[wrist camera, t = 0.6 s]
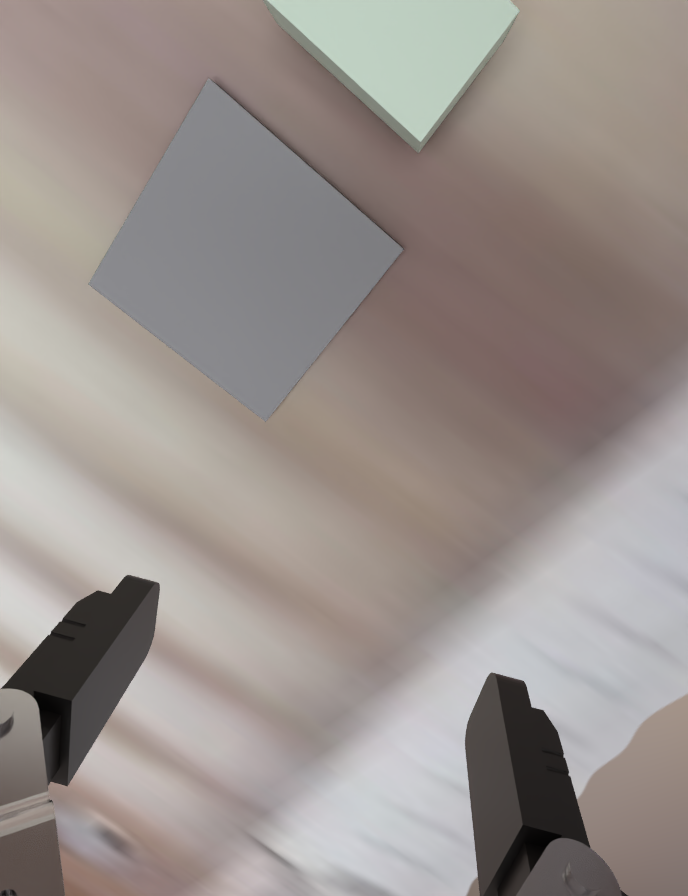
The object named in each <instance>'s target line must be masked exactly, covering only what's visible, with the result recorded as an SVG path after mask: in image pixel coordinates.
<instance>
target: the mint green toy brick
mask: <svg viewBox="0 0 688 896" xmlns="http://www.w3.org/2000/svg"><path fill="white" fill-rule="evenodd" d="M263 1H264V3H265V5H266V6H267V8H268V9H269V11H270V13H271V14H272V16H273V18H274V19H275V21H276V22H277V24H278V25H279V26H280V27H281V28H282V29H283V30H285V31H286V32H287V33H288V34H289V35H290V36H291V37H292V38H293V39H294V40H295V41H297V42H298V43H299V44H300V45H301V46H302V47H303V48H304V49H305V50H306V51H307V52H309V53H310V54H311V55H312V56H313V57H314V58H315V59H316V60H317V61H318V62H319V63H321V64H322V65H323V66H324V67H325V68H326V69H327V70H328V71H329V72H330V73H331V74H332V75H334V76H335V77H336V78H337V79H338V80H339V81H340V82H341V83H342V84H343V85H344V86H346V87H347V88H348V89H349V90H350V91H351V92H352V93H353V94H354V95H355V96H356V97H358V98H359V99H360V100H361V101H362V102H363V103H364V104H365V105H366V106H367V107H368V108H370V109H371V110H372V111H373V112H374V113H375V114H376V115H377V116H378V117H379V118H380V119H381V120H383V121H384V122H385V123H386V124H387V125H388V126H389V127H390V128H391V129H392V130H393V131H395V132H396V133H397V134H398V135H399V136H400V137H401V138H402V139H403V140H404V141H405V142H407V143H408V144H409V145H410V146H411V147H412V148H413V149H414V150H415V151H416V152H417V153H419V152H420V151H421V149H422V148H423V147H424V145H425V144H426V143H427V141H428V140H429V139H430V137H431V136H432V135H433V133H434V132H435V131H436V130H437V128H438V127H439V126H440V124H441V123H442V122H443V120H444V119H445V118H446V116H447V115H448V114H449V112H450V111H451V110H452V108H453V107H454V106H455V104H456V103H457V102H458V100H459V99H460V98H461V97H462V95H463V94H464V93H465V91H466V90H467V89H468V87H469V86H470V85H471V83H472V82H473V81H474V79H475V78H476V77H477V75H478V74H479V73H480V71H481V70H482V69H483V68H484V66H485V65H486V64H487V62H488V61H489V60H490V58H491V57H492V56H493V54H494V53H495V52H496V50H497V49H498V48H499V46H500V45H501V44H502V42H503V41H504V39H505V37H506V36H507V34H508V32H509V30H510V28H511V26H512V24H513V23H514V21H515V19H516V17H517V15H518V13H519V11H520V10H519V9H518V8H517V7H516V6H515V5H514V4H513V3H512V2H511V1H510V0H263Z"/></svg>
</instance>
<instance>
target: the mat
mask: <svg viewBox="0 0 688 896" xmlns="http://www.w3.org/2000/svg"><path fill="white" fill-rule="evenodd" d="M403 250H404V248H402V247H401V246H400V245H399V244H398V243H397V242H396V241H394V240H393V239H392V238H391V237H390V236H389V235H388V234H386V233H385V232H384V231H383V230H382V229H381V228H380V227H378V226H377V225H376V224H375V223H374V222H373V221H372V220H371V219H369V218H368V217H367V216H366V215H365V214H364V213H363V212H361V211H360V210H359V209H358V208H357V207H356V206H355V205H353V204H352V203H351V202H350V201H349V200H348V199H347V198H345V197H344V196H343V195H342V194H341V193H340V192H339V191H338V190H336V189H335V188H334V187H333V186H332V185H331V184H330V183H328V182H327V181H326V180H325V179H324V178H323V177H322V176H320V175H319V174H318V173H317V172H316V171H315V170H314V169H312V168H311V167H310V166H309V165H308V164H307V163H306V162H305V161H303V160H302V159H301V158H300V157H299V156H298V155H297V154H295V153H294V152H293V151H292V150H291V149H290V148H289V147H287V146H286V145H285V144H284V143H283V142H282V141H281V140H279V139H278V138H277V137H276V136H275V135H274V134H273V133H271V132H270V131H269V130H268V129H267V128H266V127H265V126H264V125H262V124H261V123H260V122H259V121H258V120H257V119H256V118H254V117H253V116H252V115H251V114H250V113H249V112H248V111H246V110H245V109H244V108H243V107H242V106H241V105H240V104H238V103H237V102H236V101H235V100H234V99H233V98H232V97H231V96H229V95H228V94H227V93H226V92H225V91H224V90H223V89H221V88H220V87H219V86H218V85H217V84H216V83H214V82H213V81H212V80H211V79H208V80H207V82H206V84H205V85H204V87H203V89H202V91H201V92H200V94H199V96H198V97H197V99H196V101H195V103H194V104H193V106H192V108H191V109H190V111H189V113H188V114H187V116H186V118H185V120H184V121H183V123H182V125H181V126H180V128H179V130H178V132H177V133H176V135H175V137H174V138H173V140H172V142H171V144H170V145H169V147H168V149H167V150H166V152H165V154H164V156H163V157H162V159H161V161H160V162H159V164H158V166H157V168H156V169H155V171H154V173H153V174H152V176H151V178H150V180H149V181H148V183H147V185H146V186H145V188H144V190H143V191H142V193H141V195H140V197H139V198H138V200H137V202H136V203H135V205H134V207H133V209H132V210H131V212H130V214H129V215H128V217H127V219H126V221H125V222H124V224H123V226H122V227H121V229H120V231H119V233H118V234H117V236H116V238H115V239H114V241H113V243H112V245H111V246H110V248H109V250H108V251H107V253H106V255H105V257H104V258H103V260H102V262H101V263H100V265H99V267H98V269H97V270H96V272H95V274H94V275H93V277H92V279H91V280H90V282H89V285H90V286H91V287H92V288H94V289H95V290H96V291H98V292H99V293H100V294H101V295H103V296H104V297H105V298H107V299H108V300H109V301H110V302H112V303H113V304H114V305H116V306H117V307H118V308H119V309H121V310H122V311H123V312H125V313H126V314H127V315H129V316H130V317H131V318H132V319H134V320H135V321H136V322H138V323H139V324H140V325H141V326H143V327H144V328H145V329H147V330H148V331H149V332H150V333H152V334H153V335H154V336H156V337H157V338H158V339H159V340H161V341H162V342H163V343H165V344H166V345H167V346H169V347H170V348H171V349H172V350H174V351H175V352H176V353H178V354H179V355H180V356H181V357H183V358H184V359H185V360H187V361H188V362H189V363H190V364H192V365H193V366H194V367H196V368H197V369H198V370H199V371H201V372H202V373H203V374H205V375H206V376H207V377H208V378H210V379H211V380H212V381H214V382H215V383H216V384H218V385H219V386H220V387H221V388H223V389H224V390H225V391H227V392H228V393H229V394H230V395H232V396H233V397H234V398H236V399H237V400H238V401H239V402H241V403H242V404H243V405H245V406H246V407H247V408H248V409H250V410H251V411H252V412H254V413H255V414H256V415H257V416H259V417H260V418H261V419H263V420H264V421H265V422H266V421H267V419H268V418H269V417H270V416H271V414H272V413H273V412H274V411H275V409H276V408H277V407H278V406H279V404H280V403H281V402H282V401H283V399H284V398H285V397H286V396H287V394H288V393H289V392H290V391H291V389H292V388H293V387H294V386H295V384H296V383H297V382H298V381H299V380H300V378H301V377H302V376H303V375H304V373H305V372H306V371H307V370H308V368H309V367H310V366H311V365H312V363H313V362H314V361H315V360H316V358H317V357H318V356H319V355H320V353H321V352H322V351H323V350H324V348H325V347H326V346H327V345H328V343H329V342H330V341H331V340H332V338H333V337H334V336H335V335H336V333H337V332H338V331H339V330H340V328H341V327H342V326H343V325H344V323H345V322H346V321H347V320H348V318H349V317H350V316H351V315H352V313H353V312H354V311H355V310H356V308H357V307H358V306H359V305H360V303H361V302H362V301H363V300H364V298H365V297H366V296H367V295H368V293H369V292H370V291H371V290H372V288H373V287H374V286H375V285H376V283H377V282H378V281H379V280H380V278H381V277H382V276H383V275H384V273H385V272H386V271H387V270H388V268H389V267H390V266H391V265H392V263H393V262H394V261H395V260H396V258H397V257H398V256H399V255H400V253H401V252H402V251H403Z"/></svg>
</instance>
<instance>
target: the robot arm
mask: <svg viewBox="0 0 688 896" xmlns="http://www.w3.org/2000/svg"><path fill="white" fill-rule="evenodd" d="M159 591H160V585H159V583H157V582H154V581H150V580H146V579H142V578H139V577H135V576H131V575H127V576H126V577H124V579H123V580H122V581H121V582H120V583H119V585H118V586H117V587H116V588H115V590H114V591H113V592H112V593H111V594H109V593H106V592H102V591H96V592H94V593H93V594H91V595H89V596H87V597H85V598H84V599H82V600H80V601H78V602H77V603H76V604H75V605H74V606H73V607H72V609H71V610H70V611H69V612H68V613H67V614H66V615H65V617H64V618H63V620H62V622H59V623H58V625H57V626H56V627H55V628H54V629H53V630H52V631H51V634H50V635H48V636H47V637H46V638H45V639H44V641H43V642H42V643H41V644H40V645H39V646H38V647H37V649H36V650H35V651H34V652H33V653H32V654H31V655H30V657H29V658H28V659H27V660H26V661H25V662H24V663H23V665H22V666H21V667H20V668H19V669H18V670H17V671H16V673H15V674H14V675H13V676H12V677H11V678H10V679H9V681H8V682H7V683H6V684H5V685H4V686H3V687H2V688H1V689H0V896H65V892H64V884H63V875H62V867H61V859H60V851H59V843H58V835H57V827H56V819H55V811H54V806H53V802H52V800H50V798H49V791H48V785H49V784H50V782H54V783H58V784H62V785H65V786H68V785H69V783H70V781H71V780H72V778H73V776H74V775H75V773H76V771H77V770H78V768H79V766H80V765H81V763H82V762H83V760H84V758H85V757H86V755H87V753H88V752H89V750H90V748H91V747H92V745H93V743H94V742H95V740H96V739H97V737H98V735H99V734H100V732H101V730H102V729H103V727H104V725H105V724H106V722H107V720H108V719H109V717H110V716H111V714H112V712H113V711H114V709H115V707H116V706H117V704H118V702H119V701H120V699H121V697H122V696H123V694H124V693H125V691H126V689H127V688H128V686H129V684H130V683H131V681H132V679H133V678H134V676H135V674H136V673H137V671H138V670H139V668H140V666H141V665H142V663H143V661H144V660H145V658H146V656H147V654H148V651H149V649H150V646H151V643H152V640H153V637H154V631H155V624H156V615H157V607H158V599H159ZM465 749H466V759H467V770H468V780H469V790H470V800H471V810H472V820H473V830H474V840H475V850H476V861H477V871H478V880H479V891H480V896H627V895H626V894H625V893H624V892H622V891H621V890H620V887H619V884H618V882H617V880H616V878H615V876H614V874H613V872H612V871H611V869H610V868H609V866H608V865H607V864H606V863H605V861H604V860H603V859H602V858H601V857H600V856H599V855H598V854H597V853H596V852H594V851H593V850H592V849H591V848H590V845H589V842H588V838H587V835H586V831H585V828H584V824H583V820H582V817H581V813H580V810H579V806H578V803H577V799H576V795H575V792H574V788H573V785H572V781H571V778H570V776H568V773H569V771H568V767H567V763H566V760H565V758H563V755H564V753H563V749H562V746H561V742H560V739H559V735H558V732H557V730H556V729H555V727H554V726H553V724H552V723H551V721H550V720H549V718H548V717H547V715H546V714H545V712H544V711H543V710H540V709H536V708H532V707H531V703H530V699H529V695H528V691H527V687H526V684H525V682H524V681H522V680H518V679H514V678H510V677H507V676H503V675H499V674H495V673H490V674H489V676H488V677H487V679H486V681H485V684H484V686H483V688H482V690H481V693H480V695H479V697H478V699H477V702H476V704H475V706H474V708H473V711H472V713H471V715H470V718H469V721H468V724H467V729H466V736H465Z"/></svg>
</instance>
